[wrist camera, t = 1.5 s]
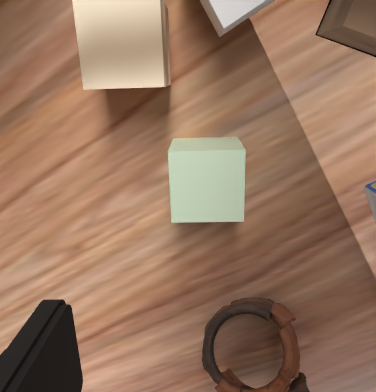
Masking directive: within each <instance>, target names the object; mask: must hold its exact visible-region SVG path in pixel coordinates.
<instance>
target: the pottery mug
mask: <svg viewBox="0 0 376 392" xmlns="http://www.w3.org/2000/svg"><path fill="white" fill-rule="evenodd" d="M239 314H254V315H257V316H260V317H262V318H264V319H266V320H269V319H270V318H271V319H272V320H273V321H274V322H275V323H276V324H277V325H278V327H279V328H280V330H279V331H278V334H279V336H280V338H281V341H282V345H283V351H284V355H283V363H282V367H281V369H280V371H279V373H278V375H277V377H276V378H275V379H274V380H273V381H272V382H270V383H269V384H267V385H266V386H264V387H261V388H257V389H254V388H251V387H249V386H247V385H245V384H244V383H242V382H241V381H240V380H239V379H238V378H237V377H236V376H235V375H234V374H233V372H232V371H231V370H230V369H228V370H226V371H225V372H220V371H219V369H218V367H217V365H216V362H215V358H214V352H213V344H214V339H215V336H216V333H217V331H218V329H219V328H220V326H221V325H222V324H223V323H224V322H225V321H226V320H228V319H229V318H231V317H233V316H235V315H239ZM295 319H296V318H295V315H294V314H293V313H292V312H291V311H290V310H289V309H287V308H286V307H285V306H283V305H281V304H280V303H274V301H272V300H270V299H262V298H245V299H240V300H236V301H233V302H231V305H229V306H224V307H222V308H221V309H220V310H219V311H218V312H217V313H216V314H215V315H214V317H213V318H212V319H211V320H210V321H209V322H208V323H207V325H206V327H205V338H204V344H203V352H202V353H203V357H202V362H203V366H204V369H205V370H206V371H207V372H208V373H209V374H210V376H211V377H212V379H213V380H214V381H215V383H217V384H218V386H216V387H215V389H216V390H217V392H309V390H308V388H307V385H306V377H305V375H304V374H303V373H301V372H299V366H300V364H299V360H300V354H299V348H298V342H297V337H296V334H295V331H294V329H293V327H292V325H291V323H290V321H292V320H293V321H294V320H295ZM292 378H295V379H294V380H293V381H292V383H291V384H290V381H291V379H292Z"/></svg>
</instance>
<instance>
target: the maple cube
mask: <svg viewBox="0 0 376 392" xmlns="http://www.w3.org/2000/svg"><path fill="white" fill-rule="evenodd" d="M72 2H73V10H74V18H75V26H76V34H77V42H78V50H79V58H80V66H81V74H82V82H83V90H84V89H116V88H148V87H166V86H169V85H171V74H170V52H169V30H168V9H167V7H166V5H165V3H164V1H163V0H72Z"/></svg>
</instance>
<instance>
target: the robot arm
mask: <svg viewBox="0 0 376 392" xmlns="http://www.w3.org/2000/svg"><path fill="white" fill-rule="evenodd" d="M82 384H83V377H82V370H81V364H80V358H79V351H78V345H77V339H76V332H75V326H74V320H73V313H72V308H71V306H70V305H66V303H65V301H64V300H43V301H42V302H41V303H40V304H39V305H38V307H37V308H36V309H35V311H34V312H33V313H32V315H31V316H30V318H29V319H28V320H27V322H26V323H25V324H24V326H23V327H22V329H21V330H20V331H19V333H18V334H17V335H16V337H15V338H14V339H13V341H12V342H11V344H10V345H9V346H8V348H7V349H6V350H4V351H3V353H2V354H1V355H0V392H81V390H82Z"/></svg>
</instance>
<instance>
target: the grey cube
mask: <svg viewBox="0 0 376 392" xmlns="http://www.w3.org/2000/svg"><path fill="white" fill-rule="evenodd" d="M199 1H200V2H201V4H202V6H203V8H204V10H205V12H206V13H207V15H208V17H209V19H210V21H211V23H212V25H213V26H214V28H215V30H216V32H217V34H218V36H219V37H221V36H222V35H224V34H225V33H227V32H228V31H230V30H231V29H233V28H234V27H236V26H237V25H239V24H240V23H242V22H243V21H245V20H246V19H247V18H249V17H250V16H252V15H253V14H255V13H256V12H258V11H259V10H261V9H262V8H264V7H265V6H267V5H268V4H270V3H271V2H273V1H274V0H199Z"/></svg>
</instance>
